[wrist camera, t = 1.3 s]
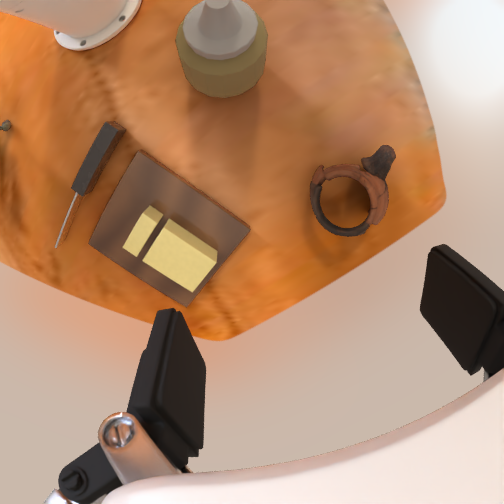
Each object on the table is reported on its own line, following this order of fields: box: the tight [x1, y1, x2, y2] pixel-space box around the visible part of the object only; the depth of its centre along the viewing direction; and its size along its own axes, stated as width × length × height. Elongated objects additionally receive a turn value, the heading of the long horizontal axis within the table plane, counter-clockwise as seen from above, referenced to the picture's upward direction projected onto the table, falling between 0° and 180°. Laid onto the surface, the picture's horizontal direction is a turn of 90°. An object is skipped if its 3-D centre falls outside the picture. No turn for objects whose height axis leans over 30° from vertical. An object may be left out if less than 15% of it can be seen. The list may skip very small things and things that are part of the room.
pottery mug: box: [310, 145, 396, 237], centre depth 29 cm, size 12×10×8 cm
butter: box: [143, 219, 218, 292], centre depth 32 cm, size 7×5×3 cm
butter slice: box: [123, 206, 163, 257], centre depth 30 cm, size 2×5×3 cm, turn 141°
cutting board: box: [88, 150, 251, 307], centre depth 32 cm, size 16×14×1 cm
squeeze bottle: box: [175, 0, 268, 98], centre depth 17 cm, size 8×8×18 cm
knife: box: [55, 121, 126, 248], centre depth 28 cm, size 2×18×3 cm, turn 141°
